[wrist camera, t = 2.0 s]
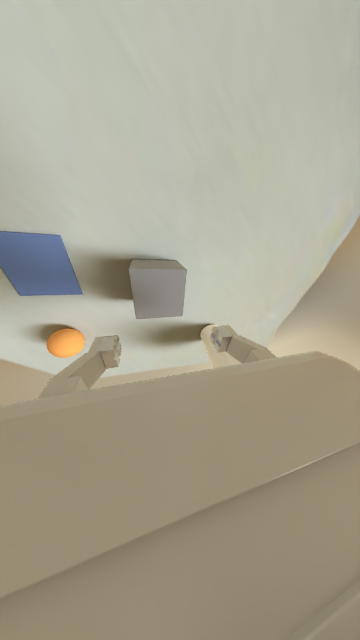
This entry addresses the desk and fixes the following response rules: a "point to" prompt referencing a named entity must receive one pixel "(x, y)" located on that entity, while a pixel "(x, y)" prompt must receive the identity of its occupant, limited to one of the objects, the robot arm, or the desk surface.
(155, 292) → the block
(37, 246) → the tape mark
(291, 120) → the desk surface
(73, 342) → the orange egg
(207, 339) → the white cup
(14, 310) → the desk surface
